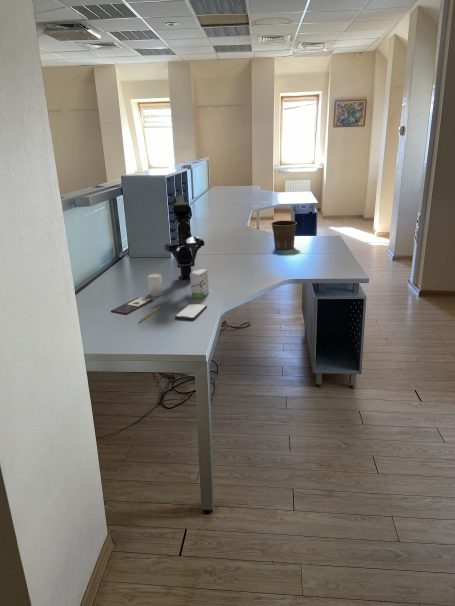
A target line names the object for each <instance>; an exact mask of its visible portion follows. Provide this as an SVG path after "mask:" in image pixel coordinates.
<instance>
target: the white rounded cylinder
mask: <svg viewBox="0 0 455 606" xmlns="http://www.w3.org/2000/svg"><path fill="white" fill-rule="evenodd" d="M147 281H148V282H147V283H148V292H149V296H151V297H158V296H162V295H163V294H164V288H163V279H162V274H160V273H152V274H149V275H147Z"/></svg>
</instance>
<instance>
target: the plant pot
mask: <svg viewBox="0 0 455 606" xmlns="http://www.w3.org/2000/svg"><path fill="white" fill-rule="evenodd" d="M297 224H298V222H297V221H296V220H295V221H294V220H277V221H273V222H271V223H270V225H271V227H272V232H273V241H274V243H273V244H274V249H276V250H281V251H284V250H292V249H294V246H295V238H296V236H295V235H296V229H297Z"/></svg>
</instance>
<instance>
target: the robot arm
mask: <svg viewBox="0 0 455 606" xmlns="http://www.w3.org/2000/svg"><path fill="white" fill-rule="evenodd" d="M171 209H172V213H173V218H174V221H176V236H177V241H176V242H177V244H175V243H173V242H171V243H165V244H164V251H165V252H166V251H167V252H169V253H171V255H172V256H173V258H174V260H175V261H176V264H177V269H180V275H178V278H180V279H182V280H190V273H191V272H192V267H195V260H196V257H197V253H198V251H199V250H200V249H202V247H204V246H205V241H204V240H203V239H202V238H199V236H192V232H190V231H191V225H190V220H192V218H193V212H192V207H191V205H189V200H188V199H186V197H185V195H175V196H174V199H173V200H172V201H171Z"/></svg>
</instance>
